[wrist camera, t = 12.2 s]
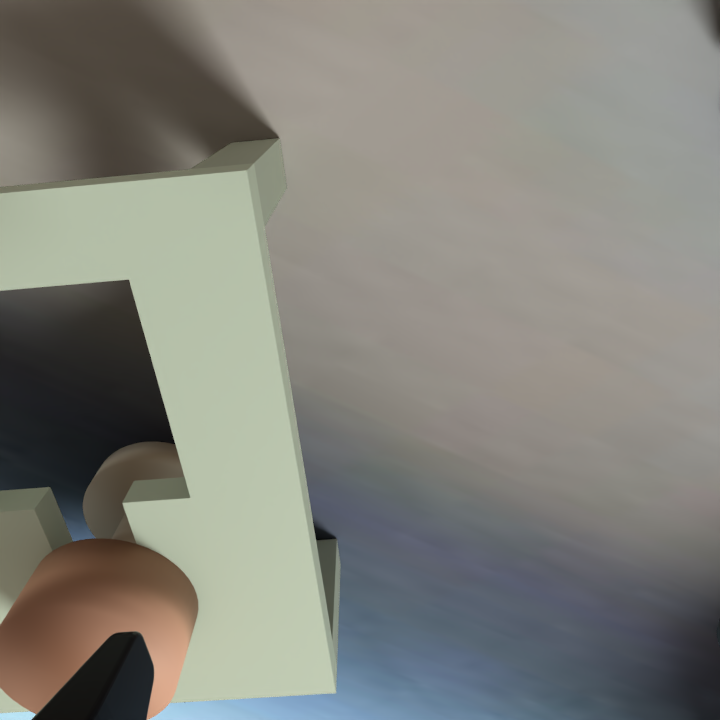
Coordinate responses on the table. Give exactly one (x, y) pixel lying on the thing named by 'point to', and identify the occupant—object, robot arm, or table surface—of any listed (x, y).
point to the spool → (101, 593)
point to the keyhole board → (195, 412)
